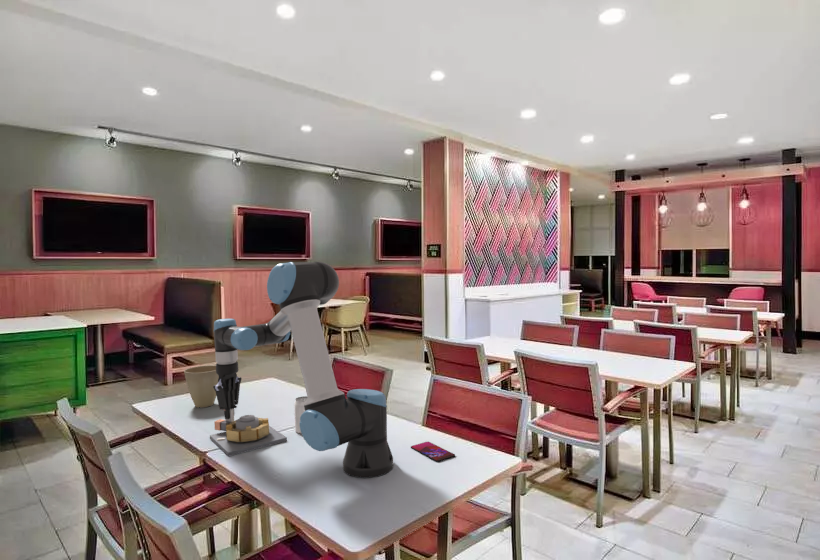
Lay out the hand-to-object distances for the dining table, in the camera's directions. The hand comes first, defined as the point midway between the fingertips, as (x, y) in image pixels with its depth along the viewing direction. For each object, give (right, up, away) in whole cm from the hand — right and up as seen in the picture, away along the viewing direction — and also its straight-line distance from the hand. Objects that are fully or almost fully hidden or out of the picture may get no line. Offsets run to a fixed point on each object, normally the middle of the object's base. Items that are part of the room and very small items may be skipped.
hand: (230, 426), depth 177 cm
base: (+8, -3, -5) cm, 10 cm away
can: (+26, -2, +2) cm, 27 cm away
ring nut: (+5, -1, -4) cm, 7 cm away
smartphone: (+72, -3, -19) cm, 75 cm away
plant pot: (-24, -2, +36) cm, 44 cm away
